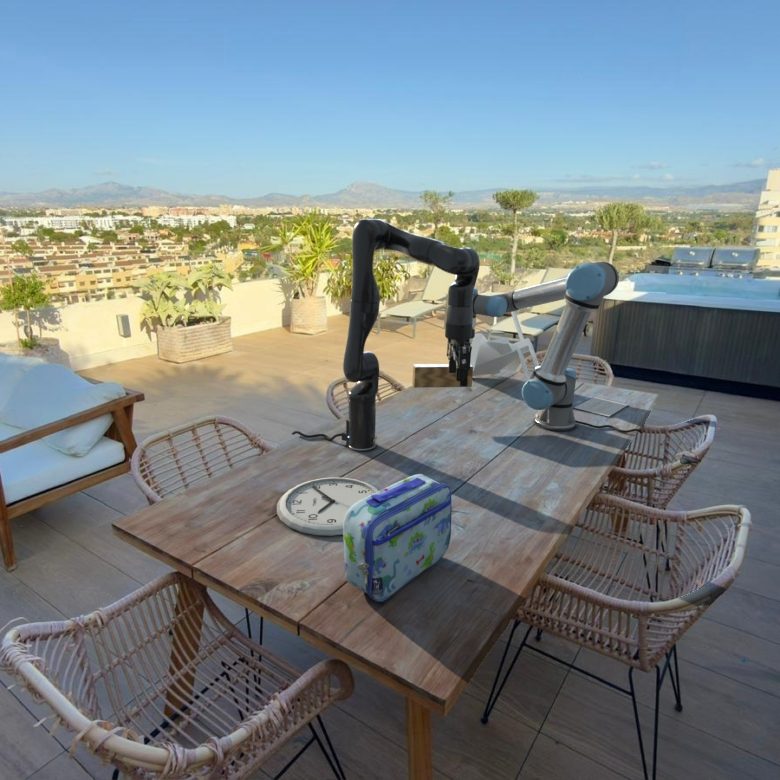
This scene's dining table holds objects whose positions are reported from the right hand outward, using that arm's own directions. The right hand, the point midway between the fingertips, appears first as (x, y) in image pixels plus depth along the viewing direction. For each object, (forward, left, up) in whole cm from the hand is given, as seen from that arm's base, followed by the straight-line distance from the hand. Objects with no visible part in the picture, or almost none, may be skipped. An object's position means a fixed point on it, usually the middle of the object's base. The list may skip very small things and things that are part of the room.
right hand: (461, 383), depth 214 cm
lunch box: (+14, +110, -12) cm, 112 cm away
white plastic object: (-19, -44, -12) cm, 49 cm away
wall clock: (+35, +83, -12) cm, 91 cm away
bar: (+8, +2, -1) cm, 8 cm away
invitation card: (-61, -16, -12) cm, 64 cm away
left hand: (+4, +60, +20) cm, 63 cm away
